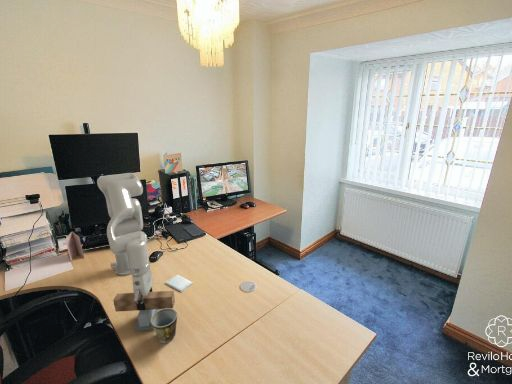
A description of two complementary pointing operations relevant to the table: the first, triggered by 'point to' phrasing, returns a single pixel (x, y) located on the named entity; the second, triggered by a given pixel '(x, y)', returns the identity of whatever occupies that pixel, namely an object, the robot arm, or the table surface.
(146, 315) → the ridge block
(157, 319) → the ceramic cup
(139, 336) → the table surface
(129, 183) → the robot arm
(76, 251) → the greeting card
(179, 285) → the hard drive
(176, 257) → the table surface
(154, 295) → the walnut batten
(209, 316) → the table surface
